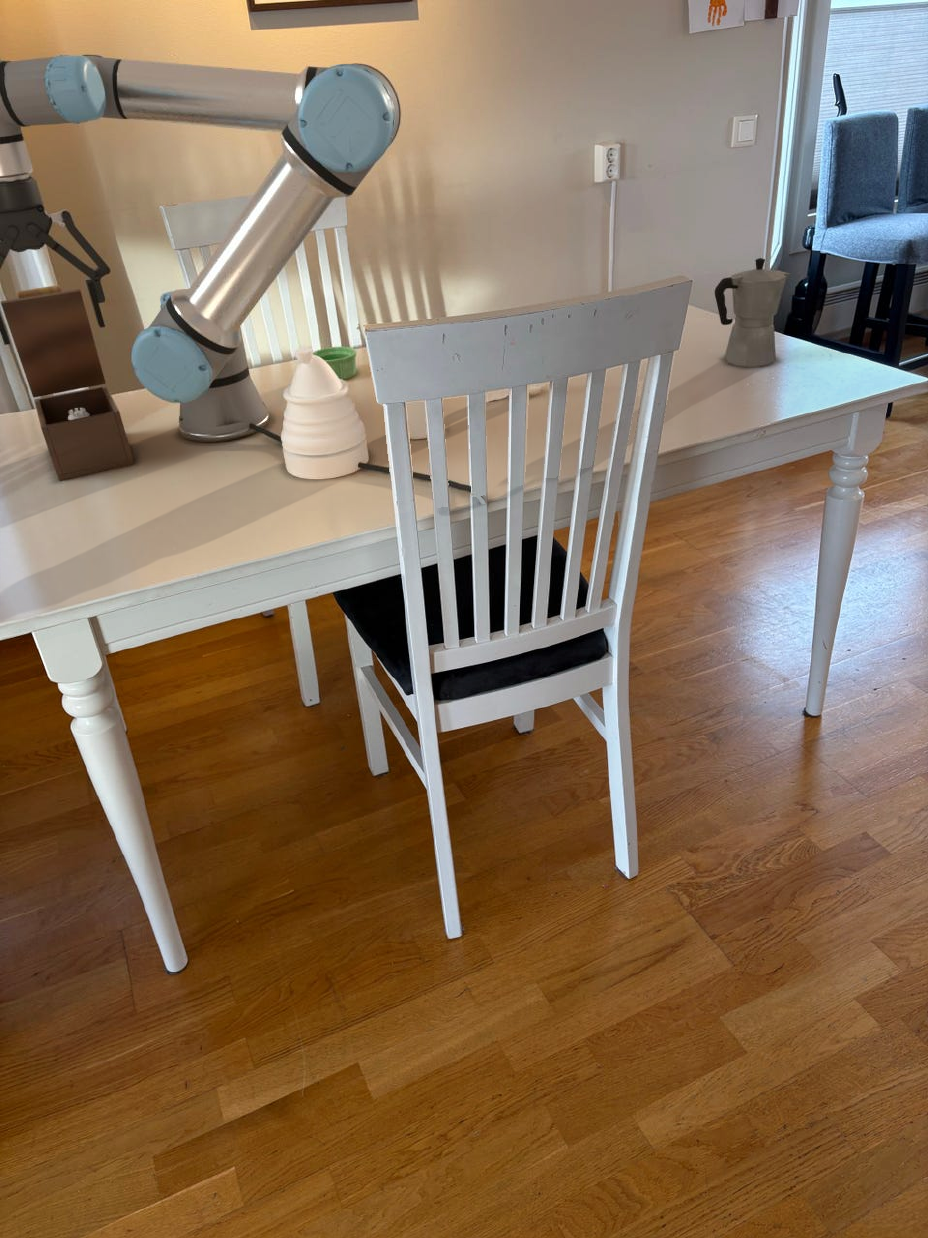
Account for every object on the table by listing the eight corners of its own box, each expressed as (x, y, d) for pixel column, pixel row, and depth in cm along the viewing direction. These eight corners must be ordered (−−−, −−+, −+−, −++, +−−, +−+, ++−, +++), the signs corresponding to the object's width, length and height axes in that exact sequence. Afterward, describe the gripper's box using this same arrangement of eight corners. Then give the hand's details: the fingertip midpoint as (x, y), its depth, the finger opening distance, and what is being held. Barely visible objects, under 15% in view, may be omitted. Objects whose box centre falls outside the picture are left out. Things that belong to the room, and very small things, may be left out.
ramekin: (356, 381, 173) (353, 358, 170) (309, 384, 173) (306, 361, 171) (361, 366, 180) (358, 345, 178) (316, 369, 181) (313, 347, 178)
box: (134, 463, 145) (119, 411, 140) (58, 480, 141) (40, 427, 136) (120, 434, 157) (106, 384, 152) (50, 449, 153) (33, 399, 148)
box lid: (80, 290, 140) (73, 274, 143) (0, 303, 136) (-4, 286, 140) (105, 383, 152) (99, 366, 155) (33, 397, 148) (27, 379, 151)
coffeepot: (763, 347, 173) (774, 248, 164) (795, 360, 166) (809, 257, 156) (694, 361, 169) (702, 260, 160) (724, 374, 162) (733, 269, 152)
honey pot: (349, 481, 133) (331, 361, 123) (271, 476, 137) (248, 358, 127) (380, 448, 143) (366, 334, 134) (307, 444, 147) (289, 332, 137)
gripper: (96, 164, 131) (135, 313, 142) (-93, 187, 123) (-35, 343, 134) (102, 168, 125) (143, 323, 137) (-96, 193, 117) (-35, 355, 128)
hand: (55, 334), depth 135 cm, fingers open, 13 cm apart
